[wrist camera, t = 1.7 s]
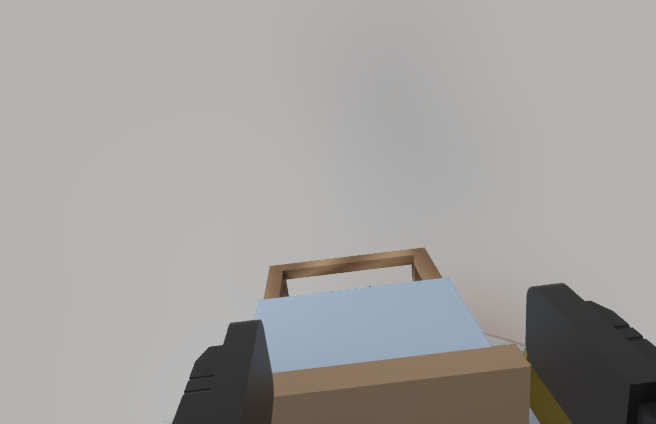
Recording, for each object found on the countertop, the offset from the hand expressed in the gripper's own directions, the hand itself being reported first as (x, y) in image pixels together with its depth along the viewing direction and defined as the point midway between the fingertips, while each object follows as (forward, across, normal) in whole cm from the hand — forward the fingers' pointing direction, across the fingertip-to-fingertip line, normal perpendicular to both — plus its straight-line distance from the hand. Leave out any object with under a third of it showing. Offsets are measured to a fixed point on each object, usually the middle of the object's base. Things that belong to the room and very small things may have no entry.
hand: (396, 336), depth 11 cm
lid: (+16, 0, +13) cm, 20 cm away
